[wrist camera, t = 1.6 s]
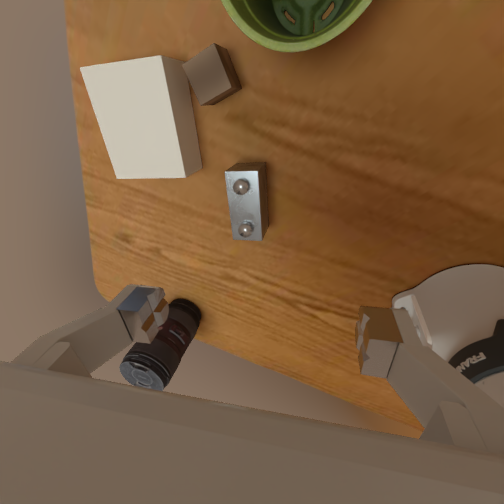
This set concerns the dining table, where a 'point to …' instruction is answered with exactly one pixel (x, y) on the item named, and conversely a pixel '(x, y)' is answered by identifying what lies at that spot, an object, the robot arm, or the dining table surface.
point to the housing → (248, 200)
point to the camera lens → (162, 348)
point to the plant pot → (303, 12)
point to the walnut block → (212, 75)
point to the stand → (145, 117)
